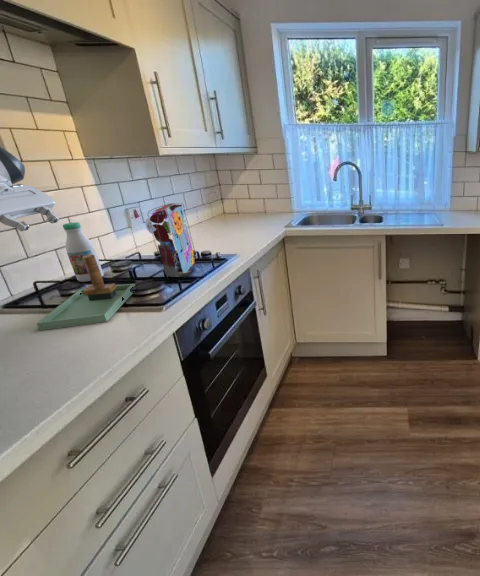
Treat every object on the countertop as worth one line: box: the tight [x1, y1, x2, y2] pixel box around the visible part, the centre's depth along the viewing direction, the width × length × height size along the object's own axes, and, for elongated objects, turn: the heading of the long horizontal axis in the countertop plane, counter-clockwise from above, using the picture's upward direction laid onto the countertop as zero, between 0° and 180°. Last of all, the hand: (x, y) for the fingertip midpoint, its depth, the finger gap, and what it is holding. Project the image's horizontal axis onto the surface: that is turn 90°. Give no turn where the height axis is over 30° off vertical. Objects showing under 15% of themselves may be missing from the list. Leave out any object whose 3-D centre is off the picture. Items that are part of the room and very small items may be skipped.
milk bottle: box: [62, 221, 104, 283], centre depth 126 cm, size 8×8×20 cm
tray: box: [36, 283, 136, 331], centre depth 107 cm, size 16×24×2 cm, turn 16°
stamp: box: [83, 255, 117, 301], centre depth 110 cm, size 7×4×14 cm, turn 104°
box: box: [145, 202, 198, 282], centre depth 124 cm, size 25×6×24 cm, turn 9°
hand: (41, 225), depth 96 cm, fingers open, 8 cm apart
